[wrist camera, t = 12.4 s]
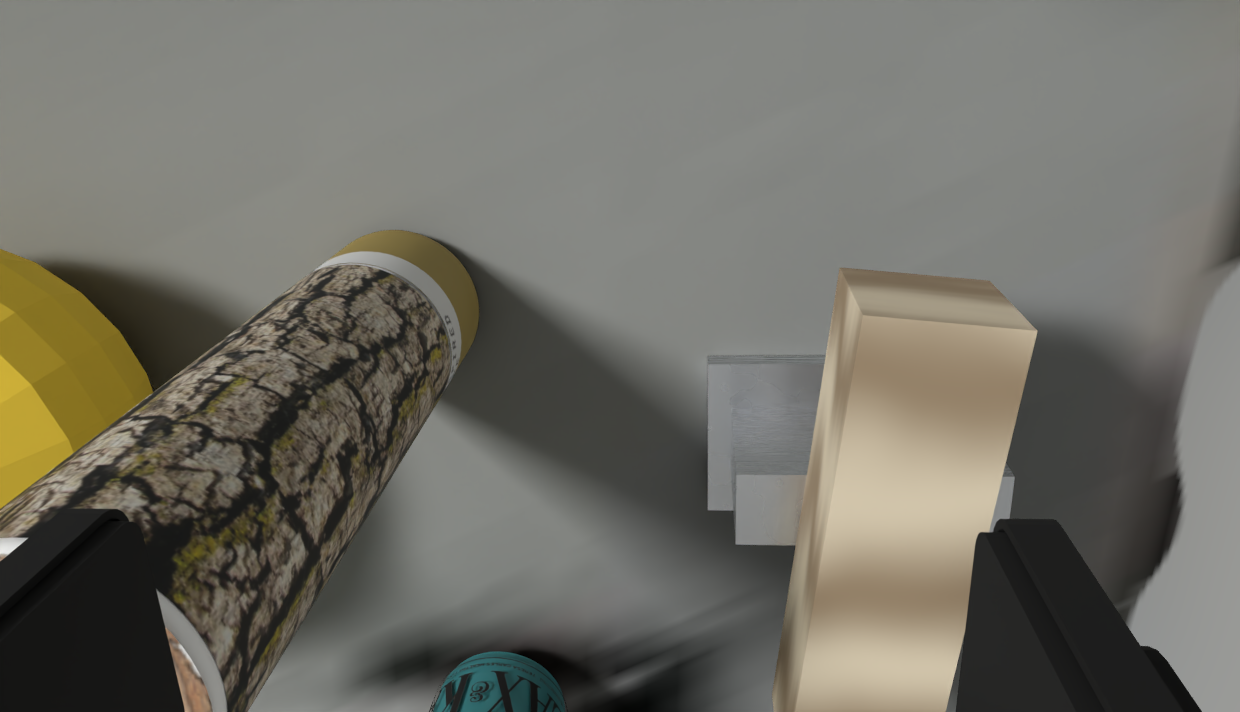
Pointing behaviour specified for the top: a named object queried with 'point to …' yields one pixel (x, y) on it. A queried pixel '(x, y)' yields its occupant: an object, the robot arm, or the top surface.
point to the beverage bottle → (499, 686)
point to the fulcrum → (771, 444)
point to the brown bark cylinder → (271, 454)
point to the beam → (898, 490)
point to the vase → (55, 373)
